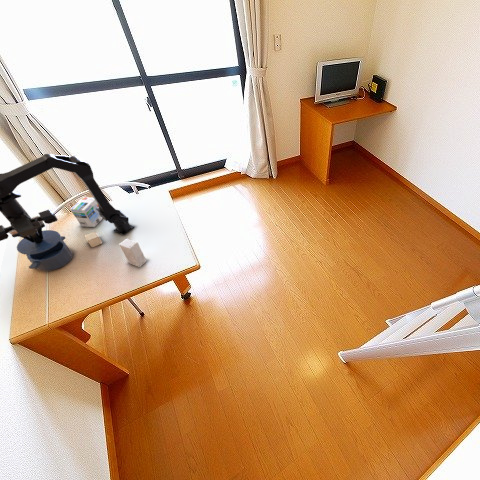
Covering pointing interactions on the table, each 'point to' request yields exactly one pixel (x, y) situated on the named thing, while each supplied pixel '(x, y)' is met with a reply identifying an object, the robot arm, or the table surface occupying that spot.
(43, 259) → the pot
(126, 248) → the cosmetic box
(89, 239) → the block
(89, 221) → the light bulb box
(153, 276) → the table surface
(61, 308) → the table surface
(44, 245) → the lid
